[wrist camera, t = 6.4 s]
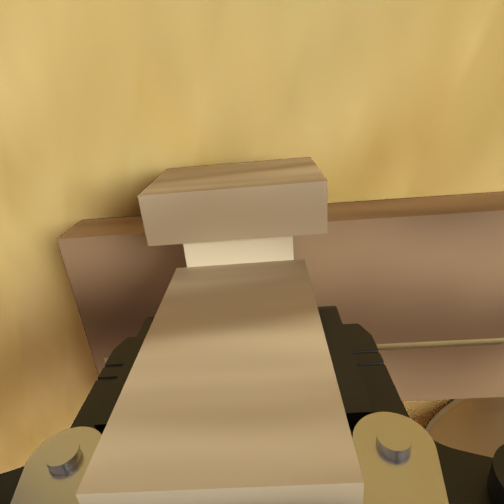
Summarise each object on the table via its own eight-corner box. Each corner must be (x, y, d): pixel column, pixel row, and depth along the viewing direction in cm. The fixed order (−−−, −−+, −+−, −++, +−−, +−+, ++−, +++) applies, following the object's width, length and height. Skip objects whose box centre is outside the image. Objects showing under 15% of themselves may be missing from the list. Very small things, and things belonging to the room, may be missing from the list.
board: (82, 219, 14) (56, 239, 13) (621, 183, 14) (677, 199, 12) (125, 380, 18) (110, 413, 16) (562, 359, 17) (600, 392, 15)
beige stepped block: (167, 168, 13) (-41, 357, 4) (310, 156, 12) (434, 329, 4) (204, 383, 16) (143, 724, 8) (314, 377, 16) (381, 721, 7)
